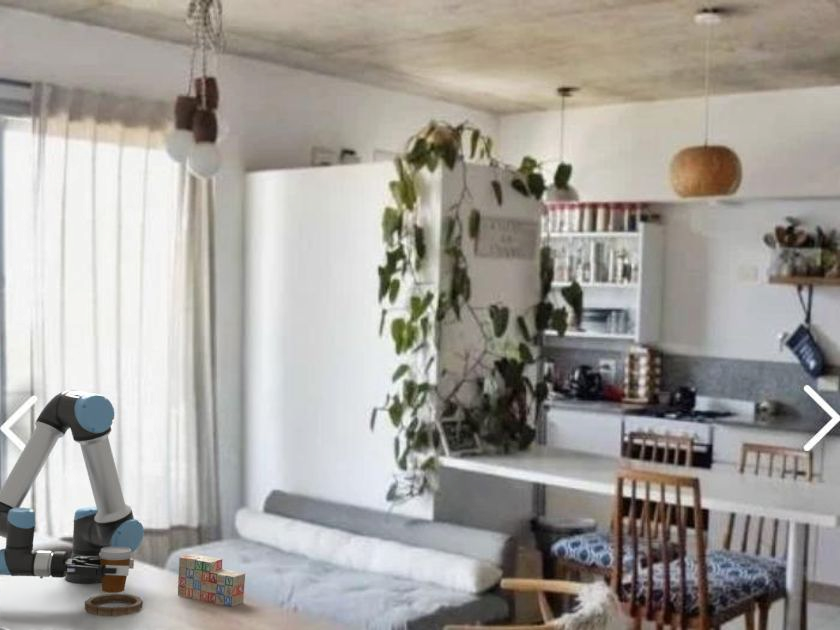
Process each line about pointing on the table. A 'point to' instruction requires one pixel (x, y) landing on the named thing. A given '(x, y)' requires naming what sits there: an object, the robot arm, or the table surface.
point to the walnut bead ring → (113, 611)
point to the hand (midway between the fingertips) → (131, 567)
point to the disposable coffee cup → (114, 558)
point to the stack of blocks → (209, 581)
